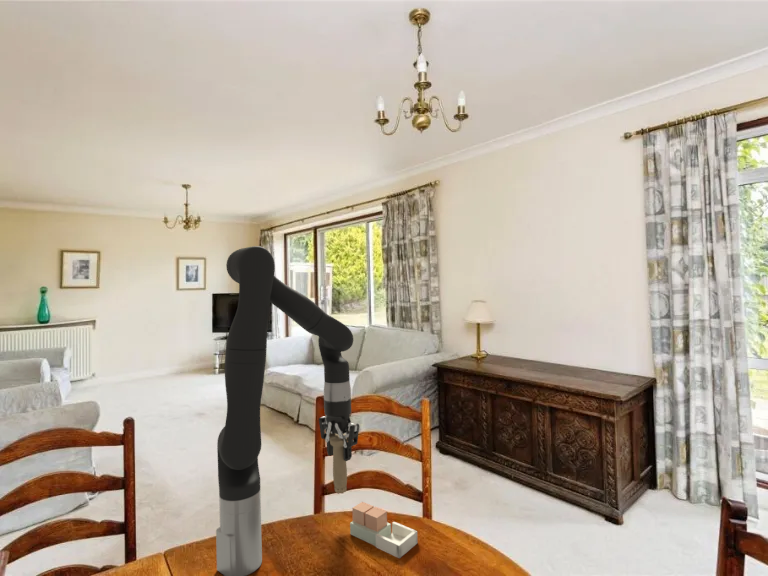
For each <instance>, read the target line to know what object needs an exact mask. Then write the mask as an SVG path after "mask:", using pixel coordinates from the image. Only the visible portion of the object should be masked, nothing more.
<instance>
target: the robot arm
mask: <svg viewBox="0 0 768 576" xmlns="http://www.w3.org/2000/svg"><path fill="white" fill-rule="evenodd" d="M275 269H276V264H275V259H274V257H273V255H272V253H271V252H270V251H269V250H268V249H267V248H265V247H263V246H260V245H253V246H247V247H243V248H242V247H241V248H240V249H237V250H235V251H233V252H232V253H231V254H230V255H229V256H228V258H227V260H226V272H227V274H228V276H229V277H230V278H231V280H233V281H234V282H236V283H238V285H239V286H238V288H239V289H238V290H239V291H238V303H237V309H236V312H235V314H234V315H235V316H234V317H233V320H232V322H231V326H230V327H229V330H228V334H227V338H226V342H225V354H224V379H225V380H224V383H225V385H224V386H225V393H226V404H227V405H226V417H225V423H224V424H225V425H224V426H223V427H222V429H221V431H220V432H219V434H218V437H217V443H216V445H217V448H216V450H217V451H216V452H217V480H218V481H217V482H218V494H219V496H218V497H219V499H218V501H219V527H217V528H216V530H215V534H216V535H215V537H216V538H215V540H216V543H215V545H216V546H215V547H216V548H215V549H216V571H218V572H219V573H220V574H222V575H223V576H249V575H250V574H253V573H254V572H255V571H257V570H258V569H259V568H260V567H261V565H262V562H263V551H262V550H263V547H262V545H263V544H262V500H261V498H262V497H261V496H262V495H261V491H262V490H261V474H260V467H259V456H260V452H261V451H262V431H261V403H262V396H263V388H264V382H265V380H264V379H265V371H266V363H267V362H266V361H267V348H268V347H267V345H268V344H267V343H268V342H267V341H268V326H269V308H270V303H271V304H272V305H274V307H276V308H277V309H279V310H280V311H281V312H282V313H283V314H284V315H286V316H288V317H289V318H290V319H291V320H292V321H294V322H295V323H296V324H297V325H298V326H300V327H301V328H302V329H303V330H305V331H306V332H308V333H309V334H311V335H314V336H318V339H317V341H318V350H319V353H320V357H321V361H322V364H323V369H324V370H323V371H324V373H323V376H324V377H323V378H324V382H323V383H324V385H323V386H324V387H323V404H324V405H323V407H324V415H325V416H321V417H319V418H318V424H319V430H320V431H319V432H320V437H321V438H320V439H322V440H323V439H324V441H325V442H326V453H327V456H330V457H332V456H333V446H332V445H331V444H330V437H331V436H333V435H336V434H338V435H339V438H340V440H342V441H343V446H344V447H343V456H344V461H346V462H347V461H350V460H351V459H352V457H353V453H352V451H353V449H352V447H353V446H356V445H358V441H359V430H360V429H359V428H360V424H359V423H358V422H356V423H354V422H352V420H351V416H350V415H351V414H352V388H351V383H350V380H351V379H350V363H349V362H348V361H347V359H345V358H343V356H342V352H347V351H348V350H349V349H351V348H352V346H353V344H354V335H353V333H352V331H351V329H350V328H349V327H348V326H347V325H345V324H344V323H343V322H341V321H339V320H337V319H336V318H334V317H333V316H331V315H329V314H327V313H326V312H325V311H324V310H323V309H322V308H321V307H320V306H319V305H317V304H316V303H315V302H314V301H313V300H311V299H310V298H308V297H307V296H306V295H304V294H302V293H301V292H299V291H298V290H295V289H294V288H292V287H290V286H289V285H287V284H286V283H284V282H283V281H281V280H280V279H279V278H278V277H276V276H275V272H276V271H275ZM343 434H346V435H343ZM346 438H347V440H348V442H347V441H346Z"/></svg>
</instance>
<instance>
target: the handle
mask: <svg viewBox="0 0 768 576" xmlns="http://www.w3.org/2000/svg"><path fill="white" fill-rule="evenodd" d="M343 435H346V433H344V434H343ZM346 441H347V442H348V440H347V438H346ZM330 444H331V445H332V446H333V455H332V456H333V457H332V477H333V485H334V488H333V489H334V492H335V493H336V494H344V493H345V492H347V488H348V487H347V483H348V470H347V469H348V468H347V461H344V456H343V447H344V446H343V441H342V440H340V438H339V435H338V434H336V435H333V436H331V437H330Z"/></svg>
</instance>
